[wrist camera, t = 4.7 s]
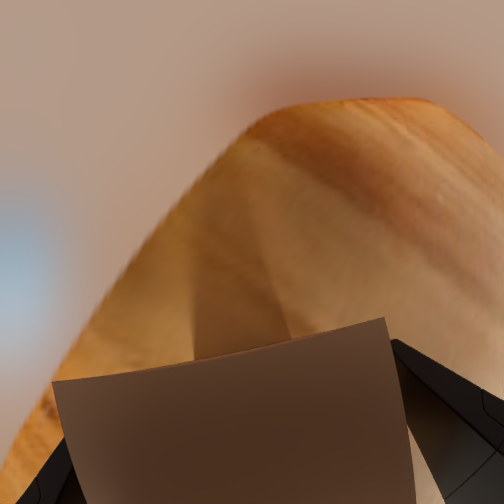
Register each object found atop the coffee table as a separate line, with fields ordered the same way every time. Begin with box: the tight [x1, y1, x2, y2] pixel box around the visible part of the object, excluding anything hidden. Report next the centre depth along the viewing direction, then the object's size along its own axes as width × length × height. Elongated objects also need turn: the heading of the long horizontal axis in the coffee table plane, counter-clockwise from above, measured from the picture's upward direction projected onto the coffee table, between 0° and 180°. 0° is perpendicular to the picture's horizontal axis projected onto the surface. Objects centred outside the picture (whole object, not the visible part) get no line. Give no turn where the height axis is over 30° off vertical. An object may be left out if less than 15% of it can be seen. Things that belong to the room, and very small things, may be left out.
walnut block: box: [52, 317, 416, 504], centre depth 9 cm, size 5×5×12 cm
